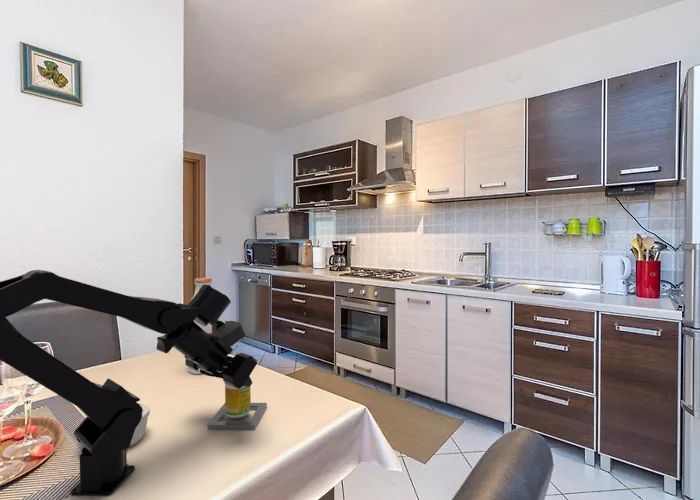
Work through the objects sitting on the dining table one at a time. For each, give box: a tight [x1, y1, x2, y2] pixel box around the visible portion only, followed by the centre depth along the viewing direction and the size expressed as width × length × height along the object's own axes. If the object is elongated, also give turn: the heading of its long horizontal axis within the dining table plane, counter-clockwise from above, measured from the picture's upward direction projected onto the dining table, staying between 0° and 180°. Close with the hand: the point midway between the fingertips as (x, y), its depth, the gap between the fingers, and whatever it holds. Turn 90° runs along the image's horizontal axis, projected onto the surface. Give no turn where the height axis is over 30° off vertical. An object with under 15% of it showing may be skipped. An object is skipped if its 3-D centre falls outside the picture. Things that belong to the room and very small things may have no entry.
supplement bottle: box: [224, 383, 252, 419], centre depth 78 cm, size 5×5×10 cm
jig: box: [206, 402, 268, 431], centre depth 79 cm, size 10×10×1 cm
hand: (243, 381), depth 80 cm, fingers closed on supplement bottle, 5 cm apart
